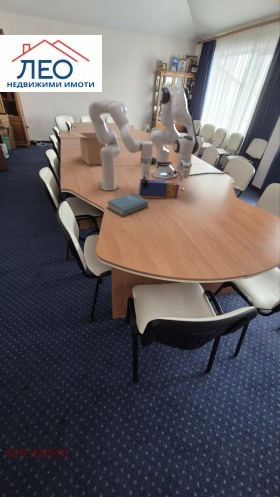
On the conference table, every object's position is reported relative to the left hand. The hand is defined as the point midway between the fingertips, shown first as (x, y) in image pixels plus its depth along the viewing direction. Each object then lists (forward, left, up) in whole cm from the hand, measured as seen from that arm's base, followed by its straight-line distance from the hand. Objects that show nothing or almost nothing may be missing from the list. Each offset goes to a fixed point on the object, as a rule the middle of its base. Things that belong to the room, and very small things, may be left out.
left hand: (144, 185), depth 165 cm
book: (-3, -24, -9) cm, 25 cm away
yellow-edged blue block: (+6, +3, -8) cm, 10 cm away
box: (-79, +63, -9) cm, 101 cm away
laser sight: (-23, +88, -9) cm, 92 cm away
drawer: (+17, +9, -8) cm, 21 cm away
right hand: (+24, +12, +4) cm, 28 cm away
